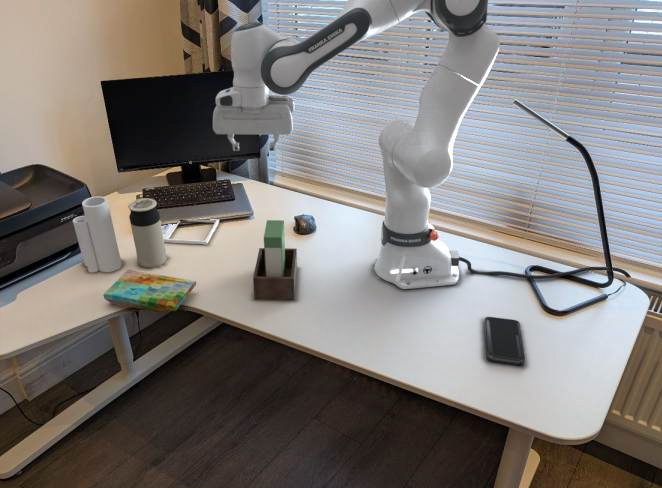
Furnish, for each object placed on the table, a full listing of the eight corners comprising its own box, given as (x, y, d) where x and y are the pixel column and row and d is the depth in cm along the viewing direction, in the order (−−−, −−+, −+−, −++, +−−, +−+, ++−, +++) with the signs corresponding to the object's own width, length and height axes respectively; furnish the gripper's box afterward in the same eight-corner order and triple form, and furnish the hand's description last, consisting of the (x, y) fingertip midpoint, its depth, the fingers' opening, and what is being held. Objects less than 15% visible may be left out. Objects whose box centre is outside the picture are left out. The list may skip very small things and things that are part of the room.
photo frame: (165, 216, 180) (218, 218, 177) (165, 219, 180) (219, 222, 178) (148, 238, 168) (206, 241, 165) (149, 241, 169) (206, 244, 166)
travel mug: (172, 258, 160) (163, 201, 150) (153, 271, 155) (142, 212, 144) (152, 251, 164) (142, 195, 154) (132, 263, 158) (120, 206, 148)
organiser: (297, 269, 154) (296, 248, 150) (294, 300, 142) (293, 278, 138) (260, 268, 155) (259, 247, 151) (254, 299, 142) (253, 278, 138)
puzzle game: (126, 267, 148) (195, 278, 143) (130, 282, 150) (197, 293, 145) (102, 291, 138) (174, 303, 133) (106, 306, 141) (177, 319, 136)
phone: (487, 356, 120) (484, 316, 132) (486, 360, 121) (483, 319, 133) (525, 362, 119) (519, 320, 131) (524, 366, 119) (518, 324, 131)
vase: (125, 260, 160) (111, 196, 149) (115, 273, 154) (100, 208, 143) (88, 258, 161) (71, 195, 150) (77, 271, 155) (59, 206, 144)
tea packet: (284, 220, 142) (281, 237, 135) (285, 272, 151) (283, 291, 144) (267, 220, 143) (263, 237, 135) (269, 272, 152) (266, 291, 144)
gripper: (294, 92, 138) (294, 146, 146) (213, 92, 139) (217, 145, 147) (293, 99, 133) (293, 155, 141) (208, 99, 134) (213, 154, 142)
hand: (254, 150), depth 144 cm, fingers open, 8 cm apart
